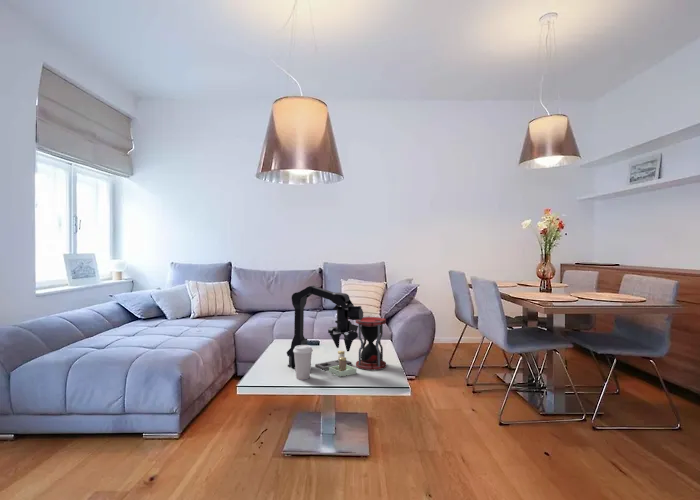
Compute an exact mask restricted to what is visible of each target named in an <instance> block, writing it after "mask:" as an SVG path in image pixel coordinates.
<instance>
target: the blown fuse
mask: <svg viewBox="0 0 700 500" xmlns="http://www.w3.org/2000/svg"><path fill="white" fill-rule="evenodd" d="M346 360H347V357H340V358H339V371H345V370H346Z"/></svg>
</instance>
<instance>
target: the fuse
mask: <svg viewBox="0 0 700 500" xmlns="http://www.w3.org/2000/svg"><path fill="white" fill-rule="evenodd" d="M345 353H346V352H345V350H337V360H338V363H339V358H340V357H345Z"/></svg>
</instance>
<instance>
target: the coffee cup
mask: <svg viewBox="0 0 700 500" xmlns="http://www.w3.org/2000/svg"><path fill="white" fill-rule="evenodd" d="M293 352H294V358H295V368H294V369H295V378H296V379H297V380H299V381H300V380H301V381H302V380H309V379H310V377H311V365H312V353H313V347H312V346H311V345H309V344H307V345H298V346H295V348H294V350H293Z"/></svg>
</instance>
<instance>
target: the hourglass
mask: <svg viewBox="0 0 700 500" xmlns="http://www.w3.org/2000/svg"><path fill="white" fill-rule="evenodd" d="M355 323H356V324H358V340H359V341H360V347H359V348H358V349H359V350H358V360H357V361H356V362H355V368H358V369H359V370H365V371H378V370H383V369H385V368H386V367H387V362H386V361H385V360H384V358H383V357H384V354H383V353H384V347H383V345H382V344H381V340H382V337H383V334H384V333H383V332H384V331H383V330H384V327H383V326H384V324H386V323H387V319H386V318H383V317H380V316H379V317H378V316H363V318H362V320H355ZM362 337H363V339H362ZM374 342H375V343H374ZM379 347H380V348H379Z"/></svg>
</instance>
